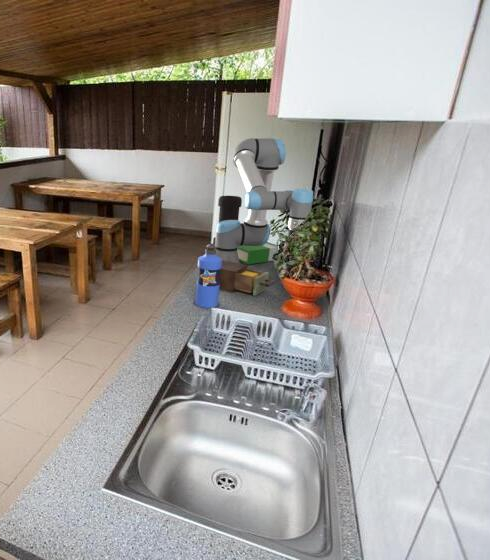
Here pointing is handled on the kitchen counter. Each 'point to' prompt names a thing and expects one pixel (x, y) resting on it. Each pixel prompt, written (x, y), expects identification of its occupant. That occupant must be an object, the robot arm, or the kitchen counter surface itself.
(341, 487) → the kitchen counter surface
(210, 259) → the water bottle
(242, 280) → the drawer
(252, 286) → the toy block
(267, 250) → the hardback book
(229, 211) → the grey black cylinder
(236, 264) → the cabinet
